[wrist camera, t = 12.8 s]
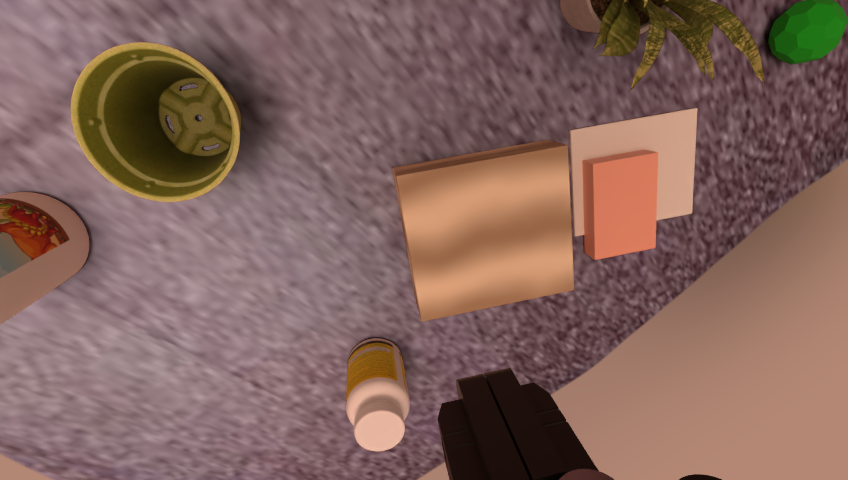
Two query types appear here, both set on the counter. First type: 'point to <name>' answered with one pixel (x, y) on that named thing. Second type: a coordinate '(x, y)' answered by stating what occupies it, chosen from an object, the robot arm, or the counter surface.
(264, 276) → the counter surface
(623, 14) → the house plant
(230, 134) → the plant pot
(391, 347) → the supplement bottle
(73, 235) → the milk bottle
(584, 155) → the mat
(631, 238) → the salmon orange flat block
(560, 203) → the wooden block
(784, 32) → the polyhedron
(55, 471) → the counter surface
